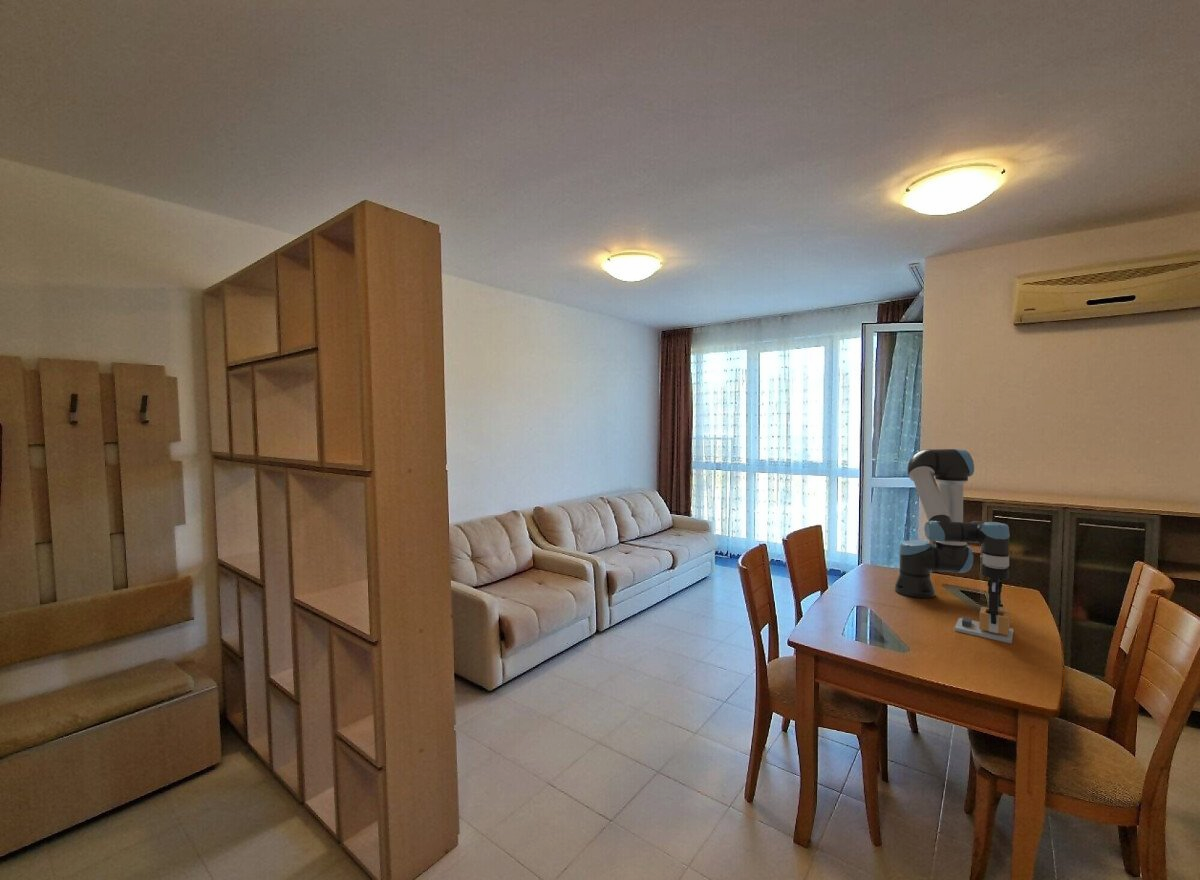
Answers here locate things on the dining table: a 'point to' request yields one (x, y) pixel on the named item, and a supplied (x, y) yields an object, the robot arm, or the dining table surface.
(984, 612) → the link
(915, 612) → the dining table surface
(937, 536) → the robot arm
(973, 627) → the keeper board
